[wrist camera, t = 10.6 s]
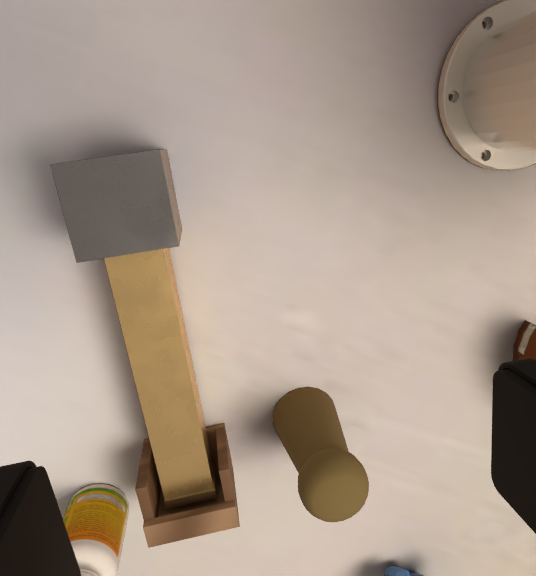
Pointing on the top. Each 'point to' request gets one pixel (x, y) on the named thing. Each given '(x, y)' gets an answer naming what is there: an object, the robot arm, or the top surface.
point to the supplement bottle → (97, 528)
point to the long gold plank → (163, 374)
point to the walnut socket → (191, 517)
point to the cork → (320, 455)
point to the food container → (525, 342)
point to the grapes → (398, 572)
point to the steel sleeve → (118, 204)
